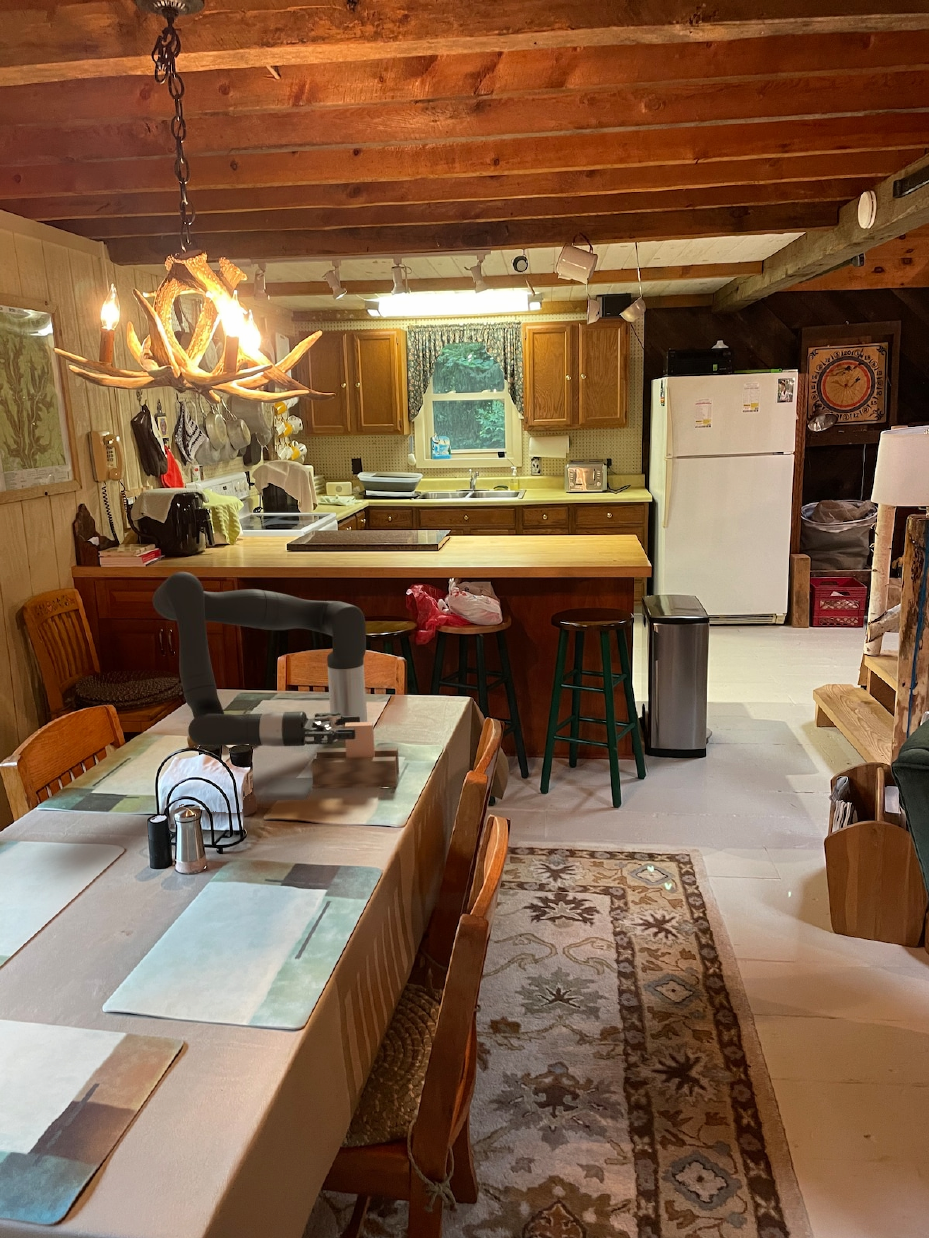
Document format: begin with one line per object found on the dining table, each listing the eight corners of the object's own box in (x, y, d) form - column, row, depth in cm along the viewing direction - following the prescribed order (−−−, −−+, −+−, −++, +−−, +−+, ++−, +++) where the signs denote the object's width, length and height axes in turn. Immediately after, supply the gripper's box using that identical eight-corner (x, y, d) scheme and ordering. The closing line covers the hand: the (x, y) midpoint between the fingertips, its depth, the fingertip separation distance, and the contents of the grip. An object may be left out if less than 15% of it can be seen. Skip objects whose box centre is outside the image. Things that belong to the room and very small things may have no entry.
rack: (313, 789, 196) (311, 762, 195) (319, 774, 205) (318, 748, 204) (396, 787, 196) (394, 760, 195) (399, 772, 205) (398, 746, 204)
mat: (259, 802, 191) (259, 800, 191) (271, 780, 203) (271, 778, 202) (306, 800, 191) (306, 799, 191) (316, 778, 202) (316, 777, 202)
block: (347, 778, 199) (344, 726, 197) (348, 773, 202) (345, 722, 199) (374, 777, 199) (372, 725, 197) (375, 773, 202) (373, 721, 199)
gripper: (275, 723, 190) (352, 721, 190) (288, 702, 204) (360, 700, 204) (278, 757, 192) (354, 755, 192) (291, 734, 206) (362, 732, 206)
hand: (357, 727), depth 198 cm, fingers open, 8 cm apart
